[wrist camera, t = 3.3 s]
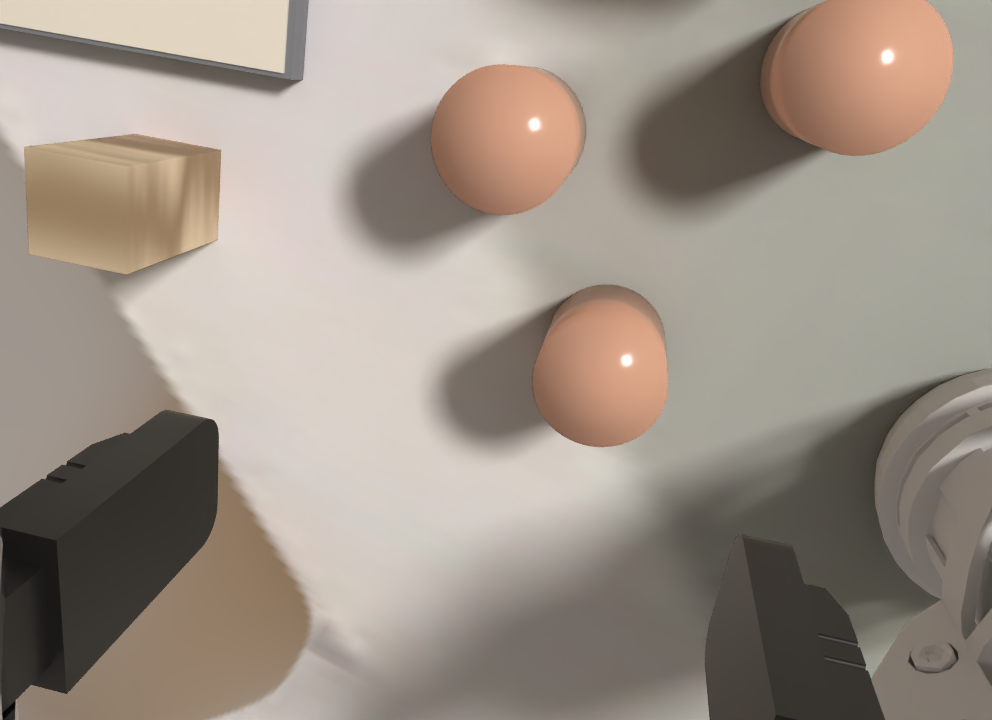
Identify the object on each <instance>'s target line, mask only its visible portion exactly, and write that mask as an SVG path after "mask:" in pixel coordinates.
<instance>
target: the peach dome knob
mask: <svg viewBox="0 0 992 720" xmlns="http://www.w3.org/2000/svg"><path fill="white" fill-rule="evenodd" d="M585 140H586V121H585V115H584V112H583V108H582V106H581V103H580V101H579V99H578V98H577V96H576V94H575V93H574V91H573V90H572V89H571V87H570V86H569V85H568V84H567V83H566V82H565V81H563V80H562V79H561V78H559V77H558V76H557V75H555V74H553V73H551V72H549V71H546V70H544V69H540V68H536V67H528V66H516V65H491V66H486V67H482V68H479V69H476V70H474V71H472V72H470V73H468V74H466V75H465V76H463V77H462V78H461V79H459V80H458V81H457V82H456V83H455V84H454V85H452V87H451V88H450V89H449V90H448V91H447V92H446V94H445V95H444V97H443V98H442V100H441V102H440V104H439V106H438V108H437V110H436V113H435V116H434V119H433V124H432V129H431V149H432V154H433V159H434V162H435V165H436V168H437V170H438V172H439V175H440V177H441V178H442V180H443V181H444V183H445V185H446V186H447V187H448V188H449V190H450V191H451V192H452V193H453V194H454V195H455V196H456V197H457V198H458V199H460V200H461V201H463V202H464V203H465V204H467V205H469V206H470V207H472V208H474V209H477V210H479V211H482V212H486V213H489V214H496V215H511V214H518V213H521V212H525V211H528V210H530V209H532V208H535V207H536V206H538V205H540V204H541V203H543V202H544V201H546V200H547V199H548V198H549V197H551V195H552V194H553V193H554V192H555V191H556V190H557V189H558V188H559V187H560V185H561V184H562V183H563V182H564V181H565V179H566V178H567V177H568V176H569V174H570V173H571V172H572V171H573V169H574V168H575V166H576V165H577V163H578V161H579V159H580V157H581V155H582V152H583V149H584V145H585Z"/></svg>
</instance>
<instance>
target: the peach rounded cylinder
mask: <svg viewBox="0 0 992 720" xmlns="http://www.w3.org/2000/svg"><path fill="white" fill-rule="evenodd" d="M952 70H953V48H952V42H951V38H950V35H949V32H948V29H947V27H946V25H945V23H944V21H943V20H942V18H941V17H940V15H939V14H938V12H937V11H936V10H935V9H934V8H933V7H932V6H931V5H930V4H929V3H928V2H926V1H925V0H826V1H824V2H822V3H819V4H817V5H815V6H813V7H810V8H808V9H806V10H804V11H802V12H801V13H799V14H797V15H796V16H794V17H793V18H792V19H791V20H789V21H788V22H787V23H786V24H785V25H784V26H783V27H782V28H781V29H780V30H779V32H778V33H777V34H776V35H775V37H774V38H773V40H772V41H771V43H770V45H769V47H768V49H767V51H766V53H765V56H764V59H763V62H762V67H761V73H760V88H761V94H762V99H763V102H764V105H765V107H766V109H767V111H768V113H769V115H770V116H771V118H772V119H773V120H774V122H775V123H776V124H777V125H778V126H779V127H780V128H781V129H783V130H784V131H785V132H787V133H788V134H790V135H792V136H794V137H796V138H798V139H801V140H803V141H805V142H808V143H810V144H813V145H815V146H818V147H820V148H822V149H825V150H827V151H830V152H833V153H837V154H841V155H850V156H862V155H870V154H875V153H879V152H883V151H886V150H888V149H891V148H893V147H896V146H897V145H899V144H901V143H903V142H905V141H906V140H908V139H909V138H911V137H912V136H914V135H915V134H916V133H917V132H918V131H920V130H921V129H922V128H923V127H924V126H925V125H926V124H927V123H928V122H929V120H930V119H931V118H932V117H933V115H934V114H935V113H936V111H937V110H938V108H939V107H940V105H941V103H942V101H943V99H944V98H945V95H946V93H947V90H948V88H949V84H950V80H951V77H952Z"/></svg>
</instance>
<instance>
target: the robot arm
mask: <svg viewBox="0 0 992 720" xmlns="http://www.w3.org/2000/svg"><path fill="white" fill-rule="evenodd" d="M218 448H219V433H218V427H217V424H216V423H215V421H214V420H212V419H208V418H203V417H199V416H194V415H189V414H185V413H180V412H175V411H171V410H164V411H162V412H160V413H159V414H157V415H156V416H154V417H153V418H152V419H150V420H149V421H147V422H146V423H145V424H143V425H142V426H141V427H139V428H138V429H137V430H135V431H134V432H133V433H131V434H128V433H123V434H120V435H117V436H115V437H112V438H109V439H106V440H103V441H100V442H97V443H95V444H92V445H90V446H89V447H87V448H86V449H84V450H83V451H82V452H80V453H79V454H77V455H76V456H75V457H73V458H72V459H70V460H68V461H67V464H66V465H61V466H60V467H59V468H57V469H55V470H54V471H53V472H51V473H50V474H48V475H47V478H46V480H45V479H41V480H40V481H38V482H37V483H35V484H34V485H32V486H31V487H29V488H28V489H26V490H25V491H24V492H22V493H21V494H19V495H18V496H16V497H15V498H13V499H12V500H11V501H9V502H8V503H6V504H5V505H3V506H2V507H1V508H0V720H19V713H18V702H17V698H18V697H19V696H20V695H21V694H22V693H23V692H24V691H25V690H26V689H27V688H28V687H29V686H30V685H35V686H38V687H42V688H46V689H50V690H53V691H57V692H61V693H65V694H67V693H68V692H69V691H70V690H71V689H72V687H73V686H74V685H75V684H76V683H77V682H78V681H79V680H80V679H81V678H82V677H83V676H84V674H86V672H87V671H88V670H89V669H90V668H91V667H92V666H93V665H94V664H95V663H96V662H97V660H98V659H99V658H100V657H101V656H102V655H103V654H104V653H105V652H106V651H107V650H108V648H109V647H110V646H111V645H112V644H113V643H114V642H115V641H116V640H117V639H118V637H120V635H121V634H122V633H123V632H124V631H125V630H126V629H127V628H128V627H129V626H130V624H132V622H133V621H134V620H135V619H136V618H137V617H138V616H139V615H140V614H141V612H143V610H144V609H145V608H146V607H147V606H148V605H149V604H150V602H152V601H153V600H154V598H155V597H156V596H157V595H158V594H159V593H160V592H161V591H162V590H163V589H164V588H165V586H167V584H168V583H169V582H170V581H171V580H172V579H173V578H174V577H175V576H176V574H178V572H179V571H180V570H181V569H182V568H183V567H184V566H185V565H186V564H187V563H188V562H189V561H190V559H191V558H192V557H193V556H194V555H195V554H196V553H197V552H198V551H199V550H200V549H201V547H202V546H203V545H204V544H205V542H206V541H207V539H208V537H209V535H210V533H211V530H212V528H213V525H214V522H215V518H216V513H217V498H218ZM857 645H858V641H857V638H856V635H855V632H854V630H853V627H852V624H851V621H850V618H849V615H848V614H847V613H846V612H845V611H844V610H843V608H842V607H841V606H840V605H839V604H838V603H837V602H836V600H835V599H834V598H833V597H832V596H831V595H830V594H829V592H828V591H827V590H826V589H825V588H821V587H816V586H811V585H807V584H803V580H802V577H801V573H800V570H799V567H798V563H797V560H796V556H795V553H794V550H793V548H792V546H790V545H786V544H782V543H777V542H772V541H768V540H763V539H758V538H754V537H749V536H745V535H738V536H737V537H736V539H735V541H734V543H733V545H732V548H731V552H730V555H729V559H728V562H727V565H726V569H725V572H724V576H723V579H722V583H721V586H720V589H719V593H718V596H717V600H716V603H715V607H714V610H713V613H712V617H711V620H710V624H709V629H708V634H707V641H706V650H705V671H706V682H707V694H708V705H709V717H710V720H885V718H884V715H883V712H882V709H881V706H880V703H879V701H878V698H877V695H876V692H875V689H874V686H873V684H872V681H871V678H870V675H869V672H868V671H866V670H865V667H866V664H865V661H864V658H863V655H862V652H861V649H860V648H859V647H857Z"/></svg>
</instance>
